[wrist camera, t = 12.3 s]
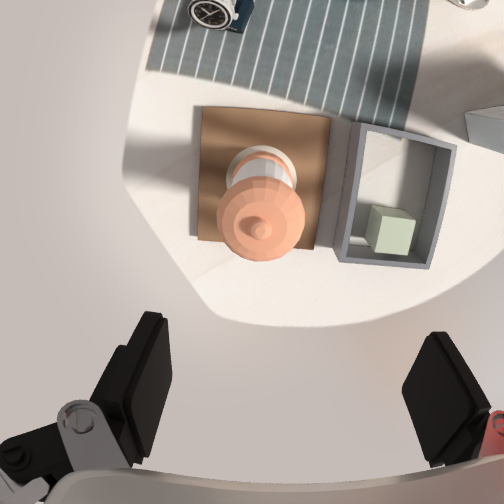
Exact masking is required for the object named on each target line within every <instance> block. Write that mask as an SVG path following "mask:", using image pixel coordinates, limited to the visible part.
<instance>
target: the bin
mask: <svg viewBox="0 0 504 504" xmlns="http://www.w3.org/2000/svg"><path fill="white" fill-rule="evenodd" d="M367 130H368V131H373V132H378V133H384V134H388V135H393V136H398V137H402V138H407V139H411V140H416V141H420V142H424V143H428V144H432V145H436V149H435V156H434V162H433V168H432V173H431V179H430V184H429V189H428V194H427V199H426V204H425V208H424V213H423V217H422V222H421V226H420V230H419V234H418V238H417V242H416V246H415V249H414V251H408V255H399V254H388V253H378V252H374V251H373V249H372V248H371V247H367V246H357V245H349V239H350V234H351V229H352V224H353V218H354V213H355V207H356V201H357V195H358V189H359V183H360V177H361V170H362V163H363V156H364V149H365V141H366V133H367ZM456 151H457V145H455V144H451V143H448V142H444V141H440V140H437V139H433V138H429V137H425V136H421V135H417V134H413V133H409V132H404V131H400V130H396V129H391V128H386V127H381V126H376V125H371V124H366V123H360V122H351V131H350V139H349V147H348V155H347V163H346V170H345V177H344V184H343V190H342V197H341V203H340V209H339V215H338V221H337V227H336V233H335V238H334V244H333V250H334V252H335V255H336V257H337V259H338V261H339V262H343V263H355V264H367V265H380V266H392V267H404V268H416V269H428V270H429V268H430V264H431V261H432V258H433V254H434V251H435V247H436V244H437V240H438V236H439V232H440V229H441V225H442V221H443V216H444V212H445V208H446V203H447V199H448V194H449V189H450V185H451V179H452V174H453V169H454V163H455V157H456Z"/></svg>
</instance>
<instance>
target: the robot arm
mask: <svg viewBox="0 0 504 504" xmlns="http://www.w3.org/2000/svg"><path fill="white" fill-rule="evenodd" d="M449 1H451V2H452V3H454V4H455V5H457V6H459V7H461V8H465V9H468V10H478V9H481V8H483V7H485V6H486V5H487V4H488V3H489V0H449ZM171 382H172V365H171V355H170V344H169V331H168V320H167V318H163V316H162V314H161V313H156V312H149V311H146V312H144V314H143V316H142V317H141V319H140V321H139V323H138V325H137V327H136V329H135V330H134V332H133V334H132V336H131V338H130V340H129V342H128V344H127V346H125V345H119V346H118V347H117V348H116V350H115V352H114V354H113V356H112V357H111V359H110V361H109V363H108V365H107V367H106V369H105V370H104V372H103V374H102V376H101V378H100V380H99V382H98V384H97V386H96V388H95V390H94V392H93V394H92V396H91V398H90V400H89V401H88V400H74V401H71V402H69V403H67V404H66V405H64V406H63V407H62V408H61V409H60V411H59V412H58V416H57V422H56V423H53V424H50V425H47V426H44V427H41V428H39V429H36V430H33V431H30V432H27V433H24V434H21V435H17V436H15V437H11V438H9V439H7V440H5V441H4V442H2V444H0V504H35V503H36V502H37V501H40V502H44V504H504V411H501V410H499V411H498V410H497V411H494V412H492V413H491V414H490V413H489V412H488V411H489V410H490V409H491V405H490V403H489V402H488V400H487V398H486V396H485V394H484V392H483V391H482V389H481V387H480V385H479V384H478V382H477V380H476V379H475V377H474V375H473V374H472V372H471V370H470V368H469V367H468V365H467V364H466V362H465V360H464V359H463V357H462V355H461V354H460V352H459V351H458V349H457V348H456V346H455V344H454V343H453V341H452V340H451V339H450V337H449V335H448V334H447V333H446V332H431V334H430V335H429V336H427V337H426V339H425V341H424V343H423V345H422V347H421V349H420V351H419V353H418V356H417V358H416V360H415V362H414V364H413V366H412V368H411V370H410V372H409V374H408V376H407V378H406V380H405V382H404V383H403V386H402V394H403V397H404V400H405V403H406V406H407V408H408V411H409V413H410V416H411V419H412V422H413V425H414V428H415V430H416V434H417V436H418V439H419V442H420V445H421V448H422V451H423V454H424V457H425V460H426V461H429V464H430V467H431V468H433V467H438V466H442V465H443V464H445V467H441V468H436V469H432V470H427V471H422V472H417V473H411V474H405V475H399V476H393V477H385V478H378V479H370V480H361V481H349V482H336V483H313V484H273V483H272V484H271V483H251V482H237V481H225V480H214V479H205V478H197V477H189V476H183V475H176V474H171V473H163V472H156V471H150V470H142V469H133V468H132V466H133V463H137V464H142V461H143V458H144V457H147V458H148V457H149V455H150V452H151V449H152V445H153V442H154V439H155V435H156V432H157V428H158V425H159V421H160V418H161V415H162V411H163V408H164V405H165V401H166V398H167V395H168V391H169V388H170V385H171Z"/></svg>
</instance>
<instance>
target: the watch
mask: <svg viewBox="0 0 504 504" xmlns="http://www.w3.org/2000/svg"><path fill="white" fill-rule="evenodd" d="M253 8H254V2H253V0H193V1H192V2H191V3H190V4H189V6H188V13H189V16H190V17H191V19H192V20H193V21H194V22H195V23H197V24H198V25H200V26H202V27H204V28H207V29H213V30H224V29H227V30H230V31H234V32H238V33H242V34H243V32H244V29H245V27H246V25H247V22H248V20H249V17H250V15H251V13H252V10H253Z"/></svg>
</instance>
